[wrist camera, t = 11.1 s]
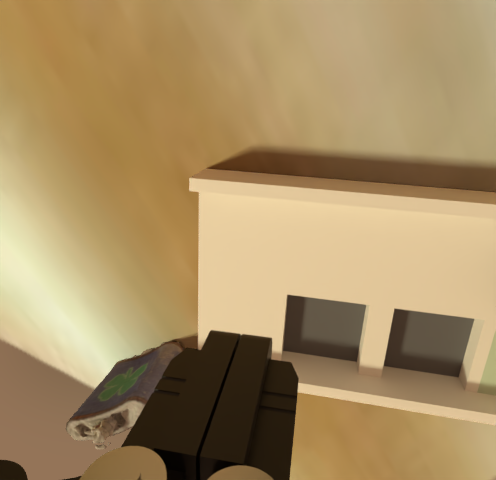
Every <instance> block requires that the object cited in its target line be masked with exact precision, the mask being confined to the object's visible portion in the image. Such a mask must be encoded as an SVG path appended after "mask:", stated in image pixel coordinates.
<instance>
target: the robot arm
mask: <svg viewBox="0 0 496 480" xmlns="http://www.w3.org/2000/svg"><path fill="white" fill-rule="evenodd" d="M271 357H272V338H270V337H263V336H255V335H247V334H242V335H241V334H239V333H231V332H223V331H216V330H211V331H210V332H209V334H208V336H207V338H206V340H205V342H204V345H203V347H202V349H201V350H199V349H192V348H186V349H185V350H183V351H182V352H181V353H179V354H178V355H177V356H176V357H174V358H173V359H172V360H171V361H170V363H169V364H168V366H167V368H166V370H165V371H164V373H163V375H162V379H160V380H159V382H158V384H157V385H156V387H155V389H154V393H153V392H152V394H151V396H150V398H149V399H148V401H147V403H146V405H145V406H144V408H143V410H142V412H141V413H140V415H139V417H138V419H137V420H136V422H135V424H134V426H133V427H132V429H131V431H130V433H129V434H128V436H127V438H126V440H125V441H124V443H123V445H122V446H121V448H117V449H114V450H112V451H109V452H107V453H105V454H104V455H102V456H101V457H99V458H98V459H96V460H95V461H94V462H93V463H92V464H91V465H90V466H89V467H88V469H87V470H86V471H85V472H84V474H83V475H82V476H79V477H76V478H70V479H64V480H289V478H290V467H291V457H292V446H293V436H294V425H295V414H296V403H297V392H298V382H299V378H298V376H297V373H296V371H295V369H294V367H293V365H292V363H291V362H286V361H279V360H272V359H271ZM0 480H28V479H27V475H26V472H25V471H24V469H23V468H22V467H21V466H20V465H19V464H17V463H15V462H12V461H8V460H0Z"/></svg>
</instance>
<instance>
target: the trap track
mask: <svg viewBox="0 0 496 480" xmlns="http://www.w3.org/2000/svg"><path fill="white" fill-rule="evenodd" d="M189 191H196V192H199V269H198V349H199V350H201V349H202V347H203V345H204V342H205V340H206V338H207V336H208V334H209V332H210V331H211V330H216V331H223V332H231V333H239V334H241V335H242V334H247V335H255V336H263V337H270V338H272V357H271V359H272V360H279V361H286V362H291V363H292V365H293V367H294V369H295V371H296V373H297V376H298V378H299V382H298V392H300V393H306V394H312V395H318V396H324V397H330V398H336V399H342V400H348V401H354V402H360V403H366V404H372V405H378V406H384V407H390V408H396V409H402V410H408V411H413V412H419V413H425V414H431V415H437V416H443V417H449V418H455V419H461V420H467V421H473V422H479V423H485V424H491V425H496V192H486V191H473V190H461V189H449V188H437V187H425V186H413V185H401V184H389V183H377V182H364V181H352V180H340V179H328V178H316V177H304V176H292V175H280V174H267V173H255V172H243V171H231V170H219V169H207V168H206V169H204V170H203V171H201V172H199V173H197V174H196V175H194V176H192V177H190V178H189Z"/></svg>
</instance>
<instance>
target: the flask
mask: <svg viewBox="0 0 496 480" xmlns="http://www.w3.org/2000/svg"><path fill="white" fill-rule="evenodd" d="M183 350H184V348H183V349H182V346H181V345H180V344H179V342H166V343H162V344H161V346H160V347H157V348H154V349H152V348H151V349H149V350H146V351H144V352H143V354H141V355H140V356H134V357H133V358H132V359H126V360H123V361H119V362H117V363H116V364H115V366H114V367H113V368H112V370H111V371H110V372H109V374H108V375H107V376H106V377H105V378H104V380H103V381H102V382H101V383H100V384H99V385H98V386H97V388H96V389H95V390H94V391H93V392H92V394H91V395H90V396H89V397H88V399H86V401H85V402H84V403H83V404H82V405H81V407H80V408H79V409H78V411H77V412H76V413H74V415H73V416H72V417H71V418H70V420H69V421H68V422H67V426H66V430H67V432H68V433H69V434H70V436H72V437H73V439H75V440H81V441H83V440H89V439H93V442H92V443H100V442H101V443H104V442H105V440H106V438H107V437H109V436H111V435H115V434H118V433H121V432H123V431H125V430H127V429H129V428H132V427H133V426H134V424H135V422H136V420H137V419H138V417H139V415H140V413H141V412H142V410H143V408H144V406H145V405H146V403H147V401H148V399H149V398H150V396H151V394H152V392H153V393H154V389H155V387H156V385H157V384H158V382H159V380H160V379H162V375H163V373H164V371H165V370H166V368H167V366H168V364H169V363H170V361H171V360H172V359H173V358H174V357H176V356H177V355H178V354H179V353H181V352H182V351H183ZM110 444H111V443H110V442H109V443H108V445H110ZM95 447H96V449H105V448H106V446H105V445H100V446H98V445H96V446H95Z"/></svg>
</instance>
